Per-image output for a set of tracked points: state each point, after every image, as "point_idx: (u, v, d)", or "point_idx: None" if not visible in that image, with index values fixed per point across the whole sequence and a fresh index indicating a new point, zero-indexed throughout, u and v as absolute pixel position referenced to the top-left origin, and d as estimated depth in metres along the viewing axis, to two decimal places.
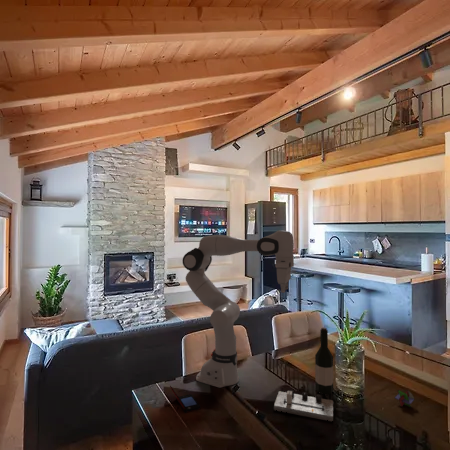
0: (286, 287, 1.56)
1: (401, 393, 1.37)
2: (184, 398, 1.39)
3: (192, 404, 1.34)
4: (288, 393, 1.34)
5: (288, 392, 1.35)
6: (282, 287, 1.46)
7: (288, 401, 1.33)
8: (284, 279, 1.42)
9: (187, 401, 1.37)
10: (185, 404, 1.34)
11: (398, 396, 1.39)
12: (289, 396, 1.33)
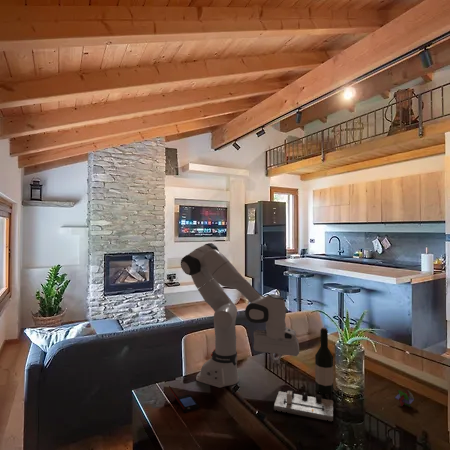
0: None
1: (401, 393, 1.37)
2: (183, 398, 1.39)
3: (192, 404, 1.34)
4: (288, 393, 1.34)
5: (288, 392, 1.35)
6: (280, 357, 1.36)
7: (288, 401, 1.33)
8: None
9: (186, 401, 1.37)
10: (184, 404, 1.34)
11: (398, 396, 1.39)
12: (289, 396, 1.33)
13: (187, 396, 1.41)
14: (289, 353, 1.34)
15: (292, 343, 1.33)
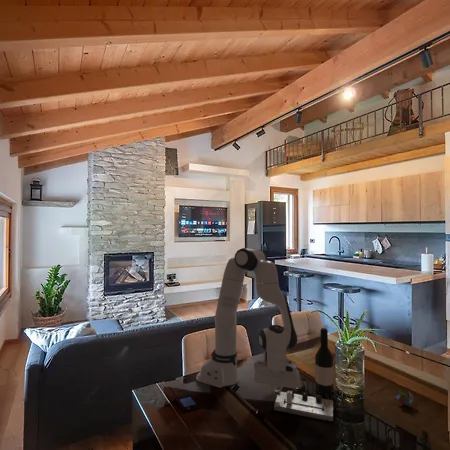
0: None
1: (401, 393, 1.37)
2: (183, 398, 1.39)
3: (192, 404, 1.34)
4: (288, 393, 1.34)
5: (288, 392, 1.35)
6: (281, 389, 1.36)
7: (288, 401, 1.33)
8: (299, 380, 1.35)
9: (186, 401, 1.37)
10: (184, 404, 1.34)
11: (398, 396, 1.39)
12: (289, 396, 1.33)
13: (187, 396, 1.41)
14: (290, 386, 1.33)
15: (293, 376, 1.33)
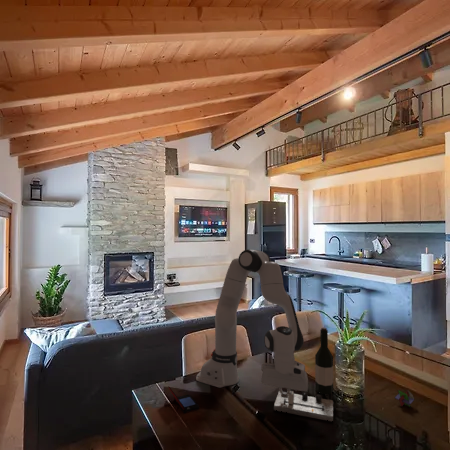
0: None
1: (401, 393, 1.37)
2: (182, 398, 1.39)
3: (191, 404, 1.34)
4: (290, 393, 1.34)
5: (290, 392, 1.35)
6: None
7: (290, 401, 1.33)
8: None
9: (186, 401, 1.37)
10: (184, 404, 1.34)
11: (398, 396, 1.39)
12: (291, 396, 1.33)
13: (186, 396, 1.41)
14: (298, 388, 1.32)
15: (301, 378, 1.31)
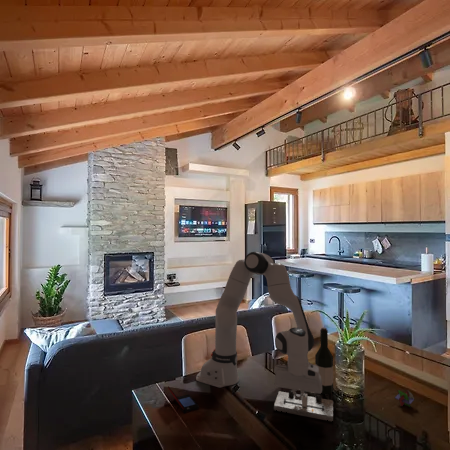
0: None
1: (401, 393, 1.37)
2: (182, 398, 1.39)
3: (191, 404, 1.34)
4: (303, 396, 1.32)
5: (303, 395, 1.33)
6: (302, 394, 1.33)
7: (303, 404, 1.31)
8: None
9: (185, 401, 1.37)
10: (184, 404, 1.34)
11: (398, 396, 1.39)
12: (304, 399, 1.31)
13: (186, 396, 1.41)
14: (312, 390, 1.30)
15: (315, 380, 1.29)
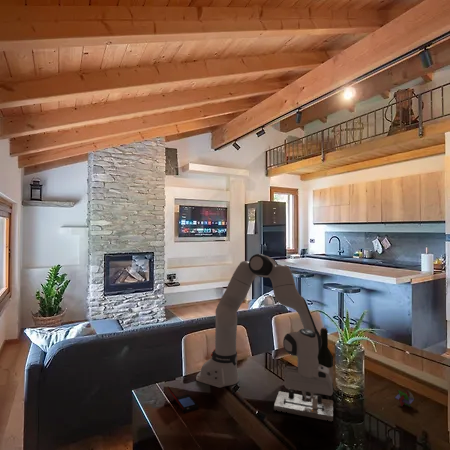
0: None
1: (401, 393, 1.37)
2: (182, 398, 1.39)
3: (191, 404, 1.34)
4: (314, 397, 1.30)
5: (313, 396, 1.31)
6: (312, 396, 1.31)
7: (314, 406, 1.30)
8: (332, 387, 1.30)
9: (185, 401, 1.36)
10: (183, 404, 1.34)
11: (398, 396, 1.39)
12: (315, 401, 1.30)
13: (186, 396, 1.41)
14: (323, 392, 1.28)
15: (326, 382, 1.28)
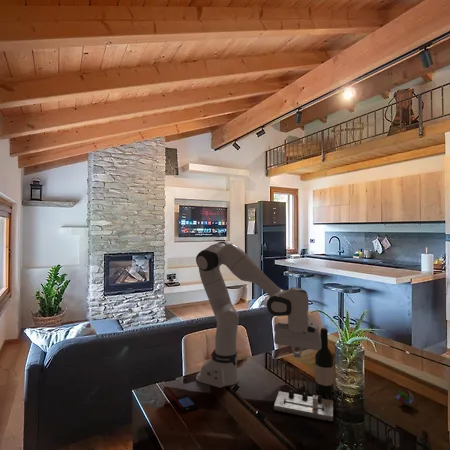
0: None
1: (401, 393, 1.37)
2: (181, 399, 1.39)
3: (190, 404, 1.34)
4: (314, 398, 1.30)
5: (314, 396, 1.31)
6: (301, 351, 1.34)
7: (314, 406, 1.30)
8: None
9: (184, 402, 1.36)
10: (183, 405, 1.34)
11: (398, 396, 1.39)
12: (315, 401, 1.30)
13: (185, 396, 1.41)
14: (311, 347, 1.31)
15: (315, 337, 1.31)
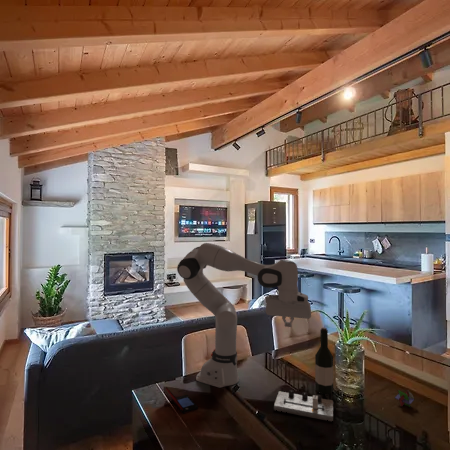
0: None
1: (401, 393, 1.37)
2: (180, 399, 1.39)
3: (190, 404, 1.34)
4: (314, 398, 1.30)
5: (314, 396, 1.31)
6: (292, 321, 1.38)
7: (314, 406, 1.30)
8: None
9: (184, 402, 1.36)
10: (182, 405, 1.34)
11: (398, 396, 1.39)
12: (315, 401, 1.30)
13: (184, 397, 1.41)
14: (301, 316, 1.35)
15: (304, 306, 1.35)
